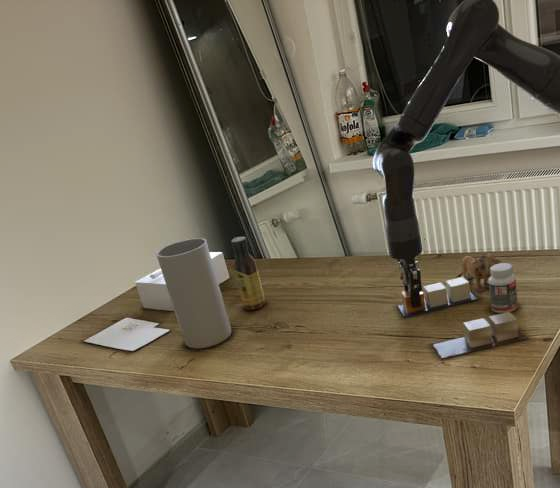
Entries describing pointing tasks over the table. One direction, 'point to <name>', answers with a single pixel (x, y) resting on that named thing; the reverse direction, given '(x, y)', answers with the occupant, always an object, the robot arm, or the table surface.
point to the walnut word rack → (482, 336)
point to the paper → (128, 334)
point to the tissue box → (156, 290)
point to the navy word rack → (444, 296)
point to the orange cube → (407, 302)
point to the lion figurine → (478, 268)
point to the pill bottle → (502, 288)
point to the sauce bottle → (247, 275)
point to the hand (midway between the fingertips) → (413, 302)
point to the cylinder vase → (194, 292)
